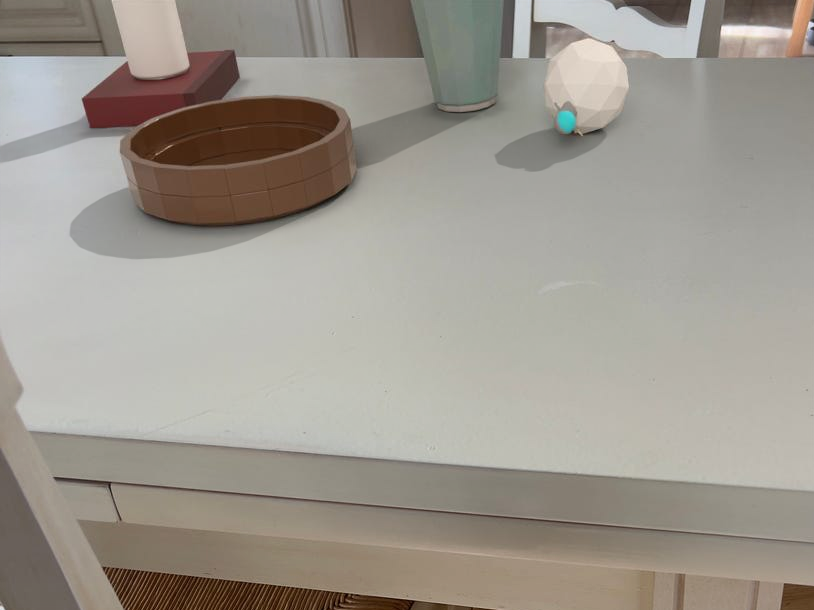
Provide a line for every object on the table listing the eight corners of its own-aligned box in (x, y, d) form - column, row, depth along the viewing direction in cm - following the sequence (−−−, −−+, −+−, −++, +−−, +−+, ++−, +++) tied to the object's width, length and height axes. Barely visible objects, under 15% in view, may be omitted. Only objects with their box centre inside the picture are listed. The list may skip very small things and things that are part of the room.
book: (89, 128, 108) (80, 98, 106) (140, 82, 122) (133, 54, 120) (200, 123, 107) (193, 92, 105) (240, 77, 120) (234, 49, 118)
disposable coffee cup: (468, 125, 101) (457, -47, 91) (392, 109, 107) (373, -55, 97) (534, 97, 107) (530, -68, 97) (459, 83, 113) (447, -74, 103)
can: (143, 65, 115) (112, -56, 108) (198, 63, 115) (171, -59, 107) (122, 82, 110) (88, -44, 103) (179, 80, 110) (149, -47, 102)
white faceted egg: (652, 77, 97) (628, 134, 90) (585, 125, 102) (557, 183, 95) (605, 6, 94) (575, 59, 86) (538, 59, 99) (505, 114, 91)
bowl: (104, 234, 85) (85, 174, 82) (173, 154, 100) (160, 100, 97) (336, 225, 83) (326, 164, 80) (371, 145, 98) (364, 90, 95)
